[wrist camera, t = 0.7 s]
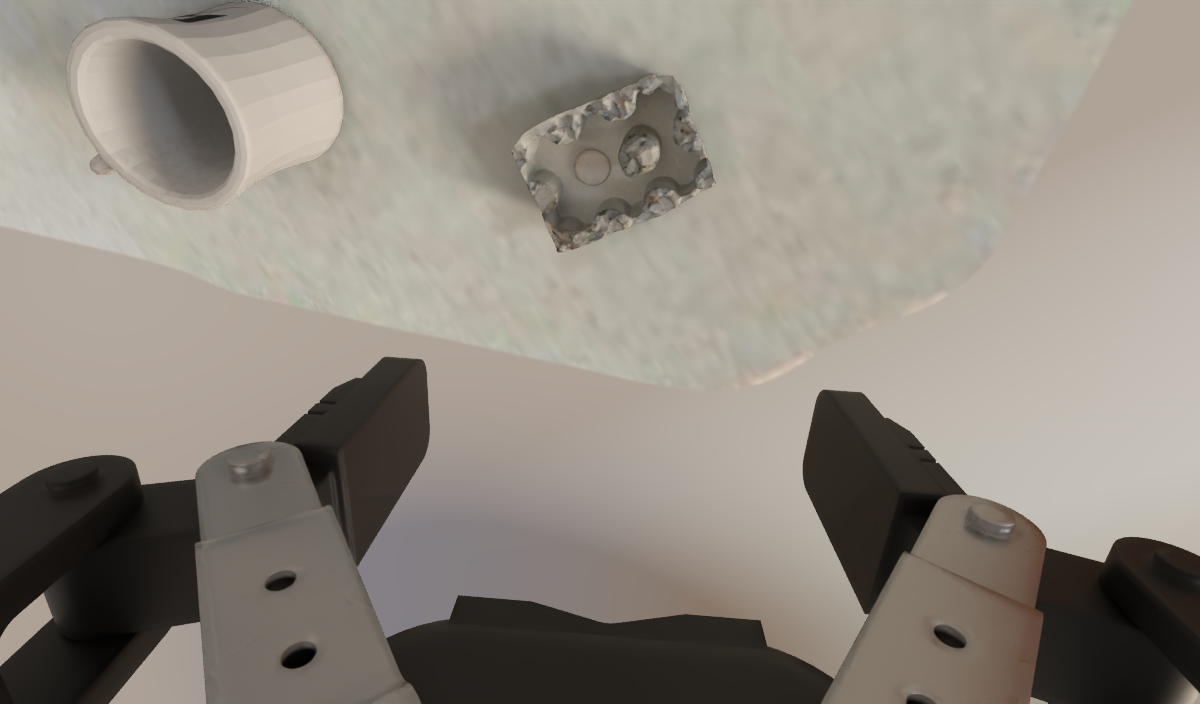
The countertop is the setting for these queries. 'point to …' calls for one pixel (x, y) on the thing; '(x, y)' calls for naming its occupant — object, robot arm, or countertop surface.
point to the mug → (203, 100)
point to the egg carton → (614, 161)
